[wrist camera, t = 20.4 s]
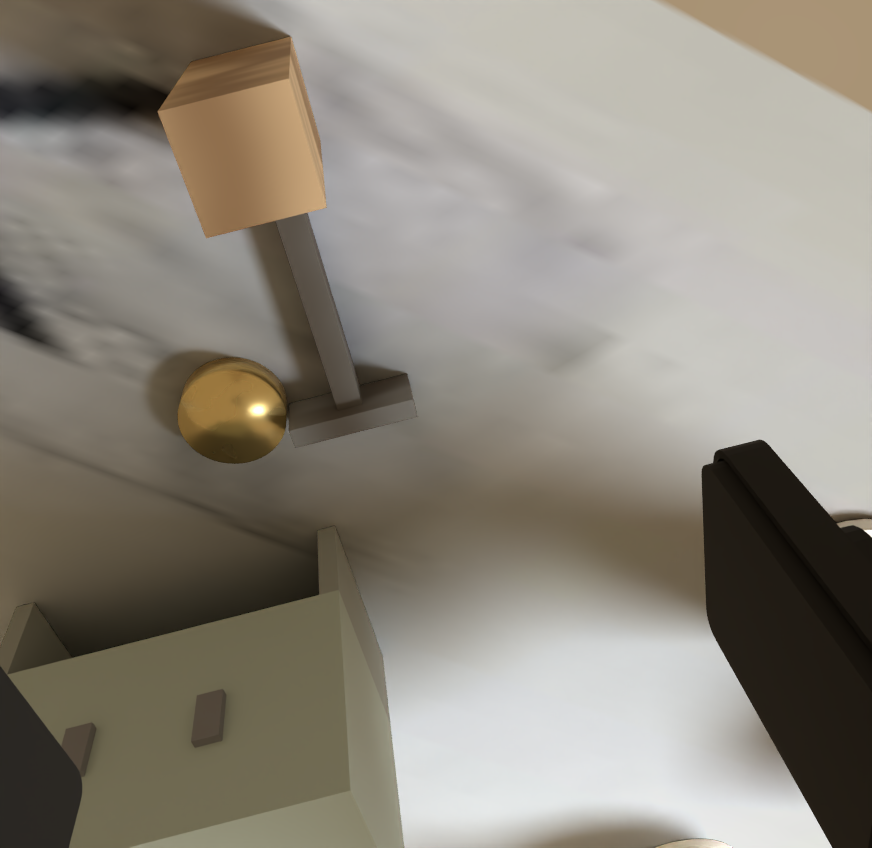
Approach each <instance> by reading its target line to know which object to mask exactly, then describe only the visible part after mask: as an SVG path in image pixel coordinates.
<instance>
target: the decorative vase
mask: <svg viewBox="0 0 872 848" xmlns="http://www.w3.org/2000/svg"><path fill="white" fill-rule="evenodd" d="M655 848H733V847H731V846H730V845H728V844H726V843H723V842H720V841H716V840H709V839H690V840H682V841H676V842H671V843H667V844H664V845H661V846H658V847H655Z"/></svg>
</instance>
